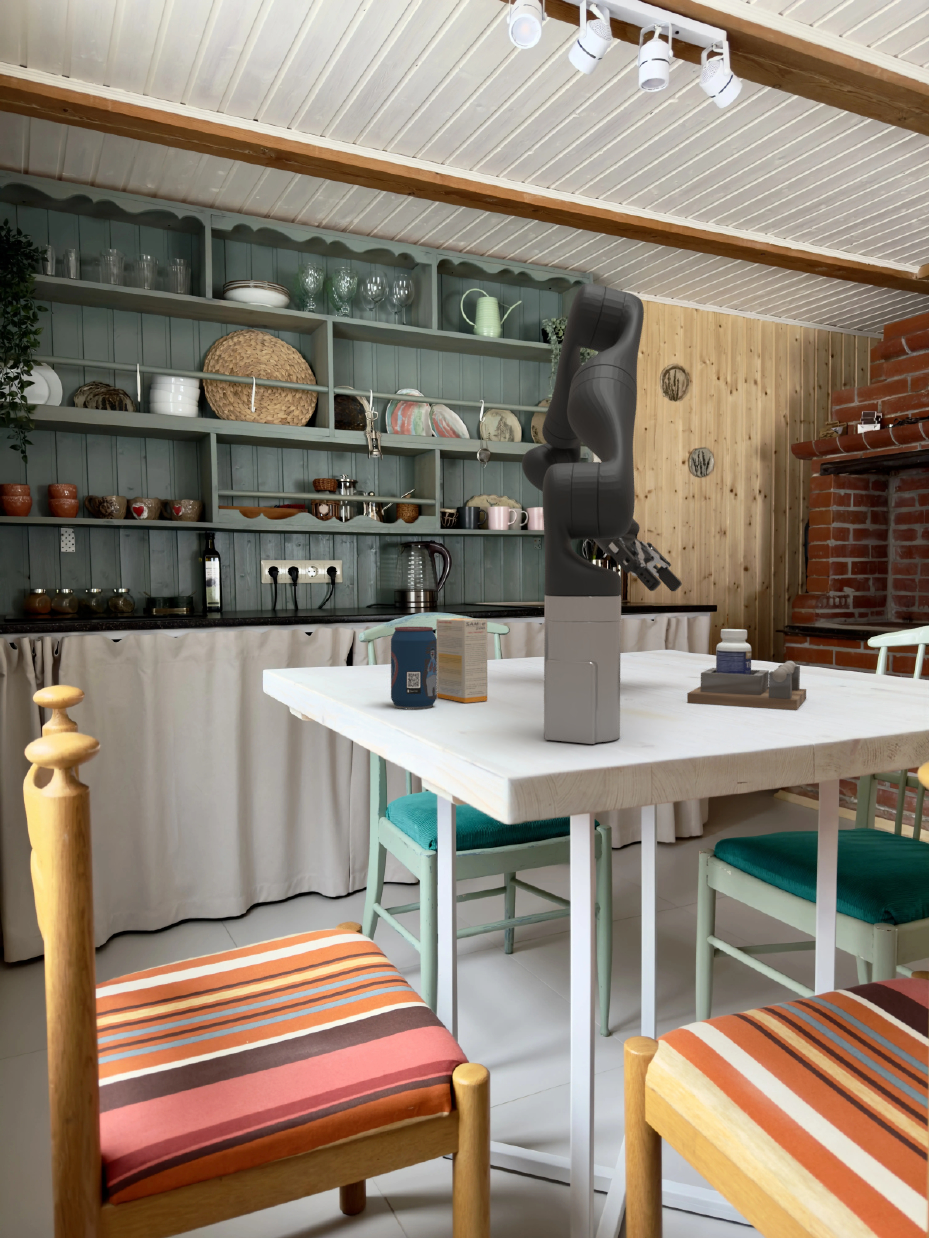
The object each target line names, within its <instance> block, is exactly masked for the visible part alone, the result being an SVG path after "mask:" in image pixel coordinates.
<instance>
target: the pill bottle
mask: <svg viewBox="0 0 929 1238" xmlns="http://www.w3.org/2000/svg"><path fill="white" fill-rule="evenodd" d="M720 638H721V639H722V641H721V642H719V643H718V644H716V649H715V652H716V653H715V657H716V658H715V661H716V663H715V668H716V673H726V674H746V675H751V670H752V646H751V644H749V643H748V642H746V640H747V639H748V630H747V629H736V628H735V629H734V628H724V629H721V630H720Z"/></svg>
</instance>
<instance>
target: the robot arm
mask: <svg viewBox="0 0 929 1238" xmlns="http://www.w3.org/2000/svg"><path fill="white" fill-rule="evenodd" d="M573 298H574V299H573V300H572V304H571V307H570V309H569V314H568V318H567V322H566V325H565V330H564V333H563V339H562V343H561V344H562V345H561V348H560V353H559V359H558V364H557V369H556V377H555V381H554V382H555V383H554V387H553V391H552V396H551V399H550V403H549V406H548V408H547V411H546V415H545V418H544V421H543V425H542V429H541V430H542V431H541V432H542V437H543V439H544V441H545V443H543V444H541V445H538V446H536V447H535V446H534V447H532V448H530V449H529V450H528V451H526V452H525V454H524V455H523V457H522V460H521V466H522V467H521V468H522V470H523V474H524V475H525V478H526V479H527V481H528V482H529V483H530V484H532V486H533V487H535V488H536V489H538V490H539V491H541V492H542V514H543V515H542V516H543V518H542V519H543V536H544V620H543V621H544V623H543V625H544V626H543V627H544V628H543V629H544V631H543V632H544V635H543V636H544V637H543V638H544V639H543V643H544V644H543V646H544V648H543V651H544V652H543V653H544V654H543V661H544V662H543V664H544V665H543V736H544V740H546V741H547V740H548V741H559V742H560V741H561V742H568V743H579V744H589V745H592V744H593V745H594V744H596V743H602V742H603V743H604V742H611V741H616V740H618V739H620V737H621V640H622V639H621V638H622V637H621V636H622V635H621V634H622V633H621V632H622V631H621V629H622V628H621V627H622V625H621V624H622V623H621V621H622V578H621V575H620V573H618V572H617V571H615V570H613V569H610V568H607V567H604V566H600V565H598V564H595V563H593V562H591V561H588V560H587V559H585V558H583V557H582V556H580V555H579V554H578V553H577V552H575V550H574V549H573V547H572V544H571V543H572V541H573V540H593V542H594V543H596V545H597V546H598V547H599V548H600V549H601V550H602V552H604V553H605V555H607V556H611V557H612V558H613V560H614V561H615V562H616V563H617V564H618V566H620V568H622V570H623V571H624V573H626V574H631V575H632V576H633V577H636V578H637V579H639V581H641V583H642V584H643V585H644V586H645V587H646V588H647V589H648V590H649V591H650V592H654V591H656V590H657V589H658V588H659V587H660V585H661V583H663V584H664V585H665V586H666V587H667V589H668V590H669V591H670V592H677V590H678V589H679V588H680V587H681V586H682V585H683V583H682V581H681V580H680V579H679V577H678V576H676V575H675V573H673V571H672V570H671V569H670V567H671V566H672V564H671V562H670V561H668V560H667V558H666V557H665V556H664V555H663V554H662V553H661V552H660V551H659V550H658V549H656V547H655V546H654V545H653V544H652V543H651V542H649V541H648V542H645V541H643V540H639V539H638V534H639V533H640V530H641V529H640V524H639V523H638V522H637V521H636V519H634V515H635V514H634V513H635V502H636V501H635V499H636V498H635V497H636V492H635V470H634V469H635V467H634V434H635V433H634V432H635V425H636V423H635V422H636V414H637V401H638V399H637V398H638V359H639V358H638V356H639V351H640V344H641V339H642V338H641V337H642V332H643V326H644V325H643V324H644V319H645V318H644V317H645V316H644V315H645V314H644V313H645V309H644V304H643V301H642V300H641V298H640V297H638V296H637V295H635V294H633V293H630V292H626V291H623V290H619V289H615V288H613V287H612V288H611V287H609V286H605V285H601V284H596V283H591V282H589V283H586V282H585V283H584V284H582V285H581V286H580V287H579V289H578V290H577V291H576V294H575V295H574V297H573ZM582 348H584V349H589V350H592V351H596V352H599V353H598V354H595V355H594V356H592V357H591V358H589V359H587V360H586V361H585V362H584V363H583V364H582V361H581V349H582ZM582 444H584V445H585V446H586V448H587V449H589V450H590V452H591V453H593V454H594V455H595V456H596V457H597V458H598V459H599V460H600V461H596V462H595V461H589V462H587V461H586V462H581V456H582V455H581V453H582V452H581V451H582V450H581V449H582ZM658 564H659V566H660V567H659V566H658Z"/></svg>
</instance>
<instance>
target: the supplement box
mask: <svg viewBox="0 0 929 1238" xmlns="http://www.w3.org/2000/svg"><path fill="white" fill-rule="evenodd" d="M435 621H436V625H435V626H436V639H437V698H438V699H446V700H450V701H455V702H459V703H464V704H465V703H466V704H467V703H468V704H469V703H479V702H487V701H488V619H486V618H474V617H473V618H471V617H442V618H436V619H435Z"/></svg>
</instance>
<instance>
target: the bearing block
mask: <svg viewBox="0 0 929 1238" xmlns="http://www.w3.org/2000/svg"><path fill="white" fill-rule="evenodd" d="M800 679H801V665H797V664H796V663H795V662H794V661H793V660H787V661H786V662H783V664H780V665H778V667H777V668H776V669H774V670H771V671H769V670H768V669H767V670H765V669H751V675H746V674H726V673H716V667H711V668H709V669H706V670H703V672H700V686H699V687H697V688H695V689H693V690H691V691H689V692H687V694H686V695H687V696H686V697H687V700H686V703H687V704H699V705H701V704H702V705H703V704H704V705H715V706H730V707H732V706H733V707H743V708H744V707H747V708H758V709H759V708H761V709H776V710H789V711H798V709H799V708H800V707H801V706H802V704H803V703H804V702H805V701H806V699H807V689H806V688H800V685H801V684H800Z"/></svg>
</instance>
